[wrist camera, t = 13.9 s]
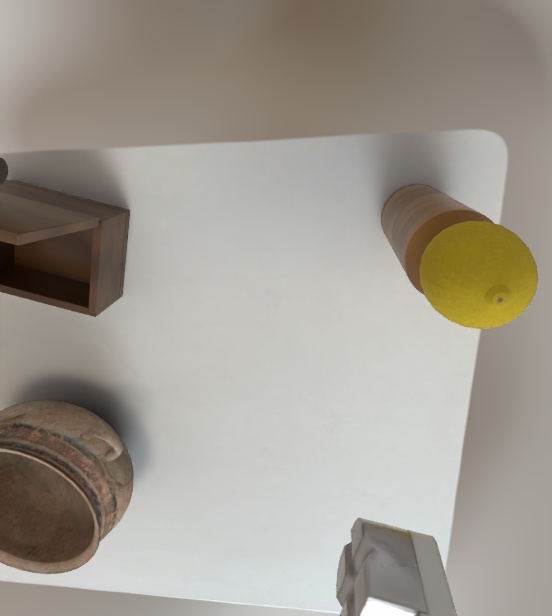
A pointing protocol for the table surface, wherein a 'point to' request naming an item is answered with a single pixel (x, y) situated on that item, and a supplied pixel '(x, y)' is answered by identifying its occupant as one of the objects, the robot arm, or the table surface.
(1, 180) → the lid
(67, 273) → the chest
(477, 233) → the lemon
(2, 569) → the table surface
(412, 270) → the stand
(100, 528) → the cooking pot
